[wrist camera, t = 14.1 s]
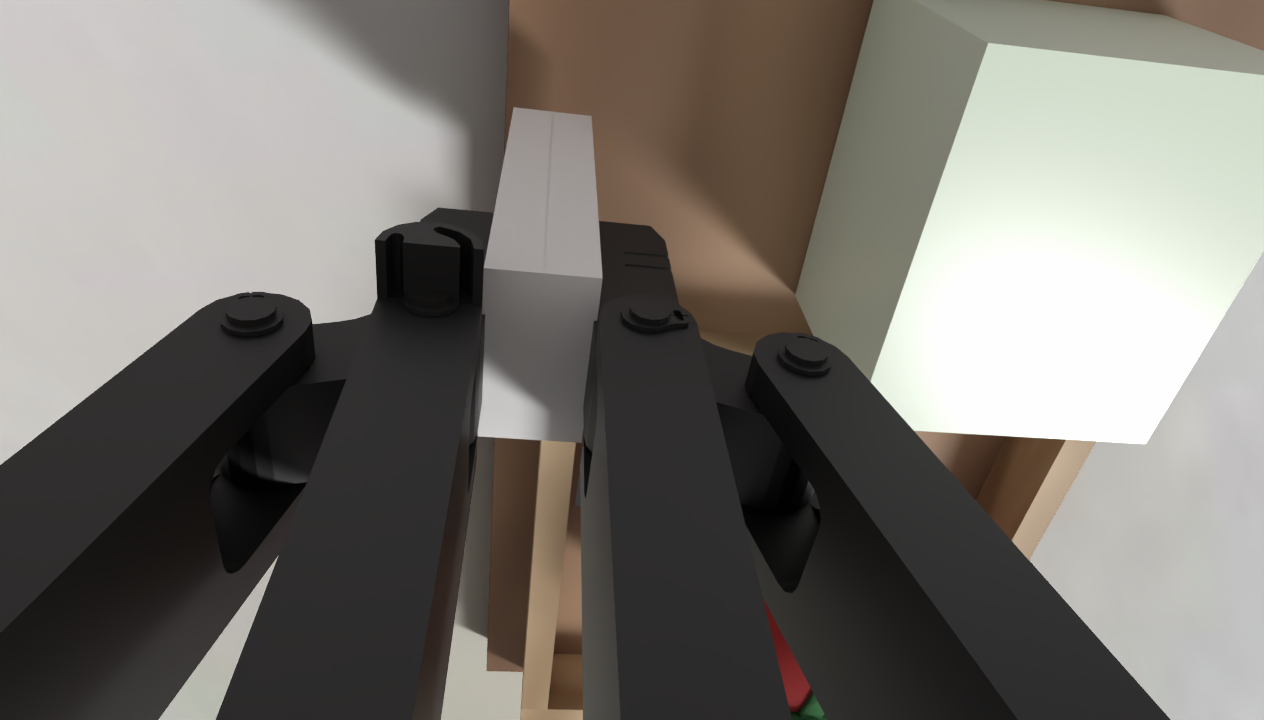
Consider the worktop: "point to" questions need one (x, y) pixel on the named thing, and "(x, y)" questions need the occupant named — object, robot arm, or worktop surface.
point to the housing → (1036, 213)
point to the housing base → (716, 249)
